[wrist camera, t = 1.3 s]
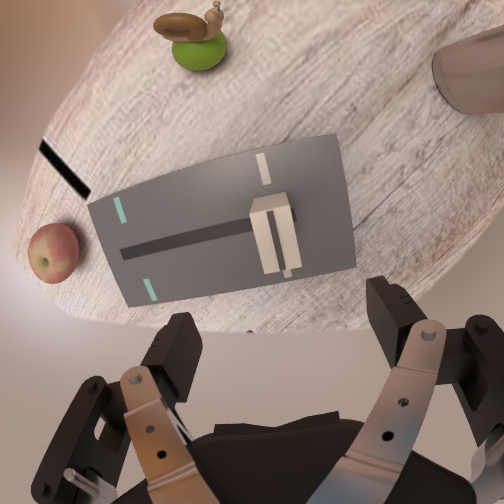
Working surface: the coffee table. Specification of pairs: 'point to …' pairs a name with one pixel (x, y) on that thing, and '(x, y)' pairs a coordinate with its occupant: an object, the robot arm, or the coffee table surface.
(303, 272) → the fader console
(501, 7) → the coffee table surface
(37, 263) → the apple
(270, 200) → the fader
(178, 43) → the snail figurine
